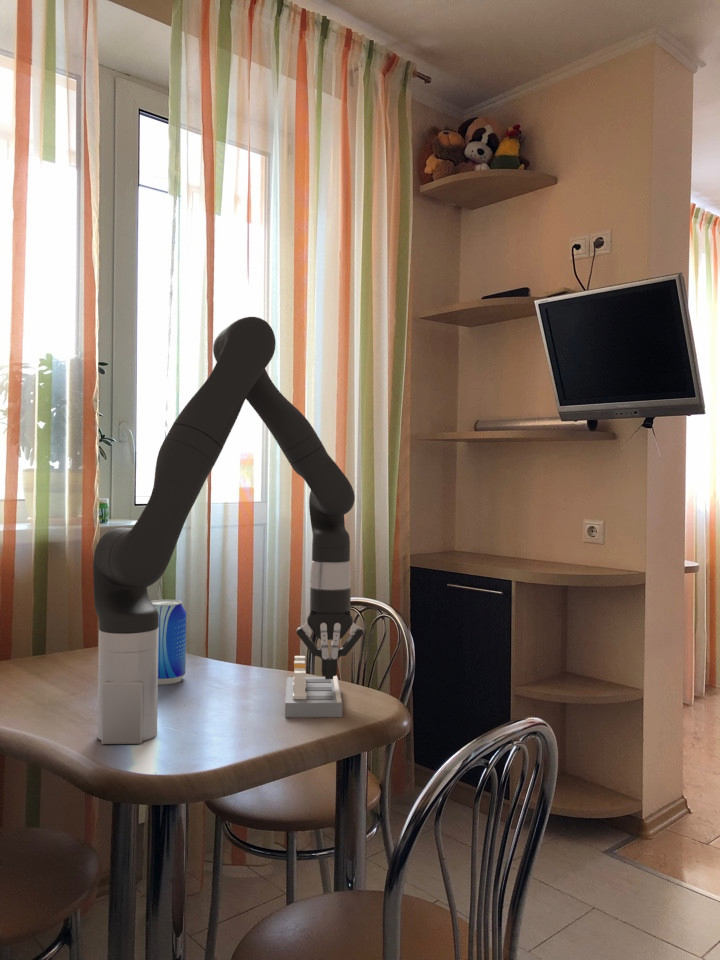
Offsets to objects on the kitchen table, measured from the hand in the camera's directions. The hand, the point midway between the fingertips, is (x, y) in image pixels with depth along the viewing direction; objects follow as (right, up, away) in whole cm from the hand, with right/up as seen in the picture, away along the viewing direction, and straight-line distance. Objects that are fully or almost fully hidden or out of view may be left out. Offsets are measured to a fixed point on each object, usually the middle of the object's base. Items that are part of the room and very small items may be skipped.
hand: (329, 678), depth 150 cm
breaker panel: (-3, -5, 0) cm, 5 cm away
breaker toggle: (-6, -2, 0) cm, 6 cm away
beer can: (-34, -4, +14) cm, 37 cm away
